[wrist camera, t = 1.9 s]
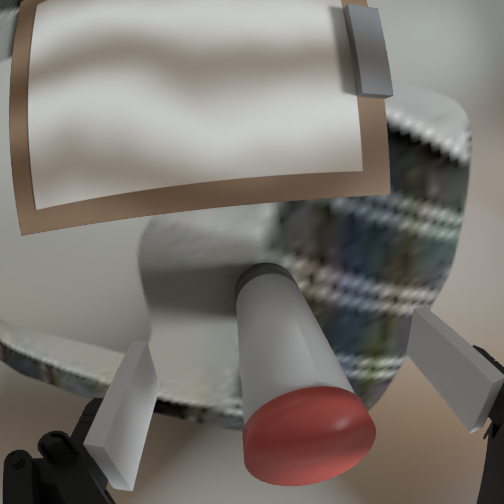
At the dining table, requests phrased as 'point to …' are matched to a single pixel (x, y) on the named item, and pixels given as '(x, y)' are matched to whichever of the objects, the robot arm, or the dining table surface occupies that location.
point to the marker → (293, 387)
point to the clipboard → (193, 106)
